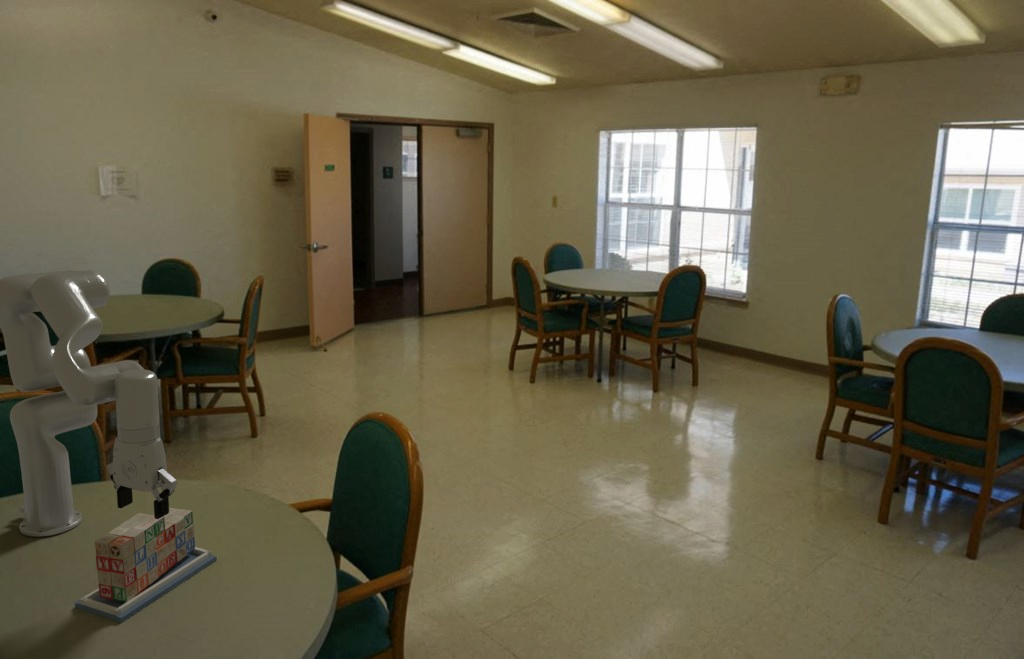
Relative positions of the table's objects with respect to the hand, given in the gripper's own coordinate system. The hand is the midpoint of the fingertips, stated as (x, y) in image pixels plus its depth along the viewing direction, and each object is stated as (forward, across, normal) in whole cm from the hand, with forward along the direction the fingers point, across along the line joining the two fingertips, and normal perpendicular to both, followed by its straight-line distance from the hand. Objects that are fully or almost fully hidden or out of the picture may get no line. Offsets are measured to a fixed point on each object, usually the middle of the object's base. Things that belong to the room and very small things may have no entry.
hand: (143, 510), depth 151 cm
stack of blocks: (+14, +1, 0) cm, 14 cm away
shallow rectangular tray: (+16, +1, 0) cm, 16 cm away
